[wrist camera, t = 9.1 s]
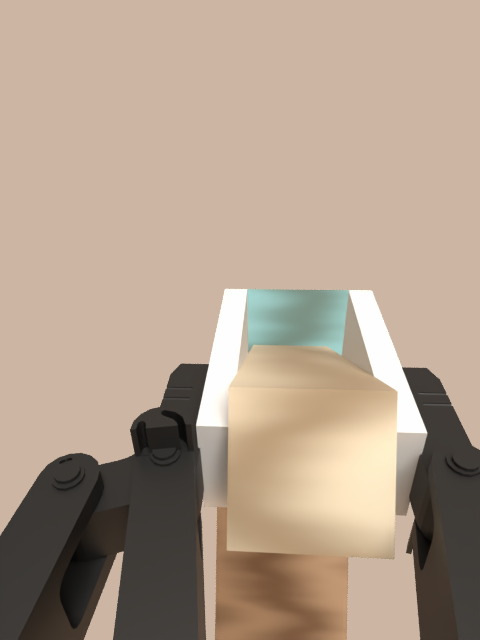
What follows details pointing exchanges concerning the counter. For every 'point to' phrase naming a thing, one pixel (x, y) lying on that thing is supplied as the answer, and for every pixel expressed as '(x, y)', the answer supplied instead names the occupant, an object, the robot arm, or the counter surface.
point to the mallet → (308, 436)
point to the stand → (278, 594)
